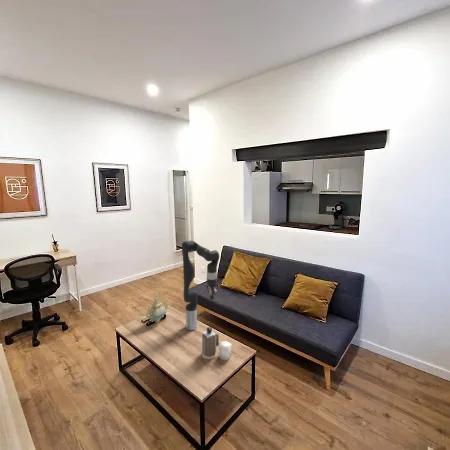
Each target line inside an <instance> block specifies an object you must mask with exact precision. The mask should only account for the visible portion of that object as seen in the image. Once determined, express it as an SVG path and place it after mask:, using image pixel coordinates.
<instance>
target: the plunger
mask: <svg viewBox="0 0 450 450" xmlns="http://www.w3.org/2000/svg"><path fill="white" fill-rule="evenodd" d="M212 330H213V328H212V327H207V328H206V331H207V333H209V334H210V333H212Z"/></svg>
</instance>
